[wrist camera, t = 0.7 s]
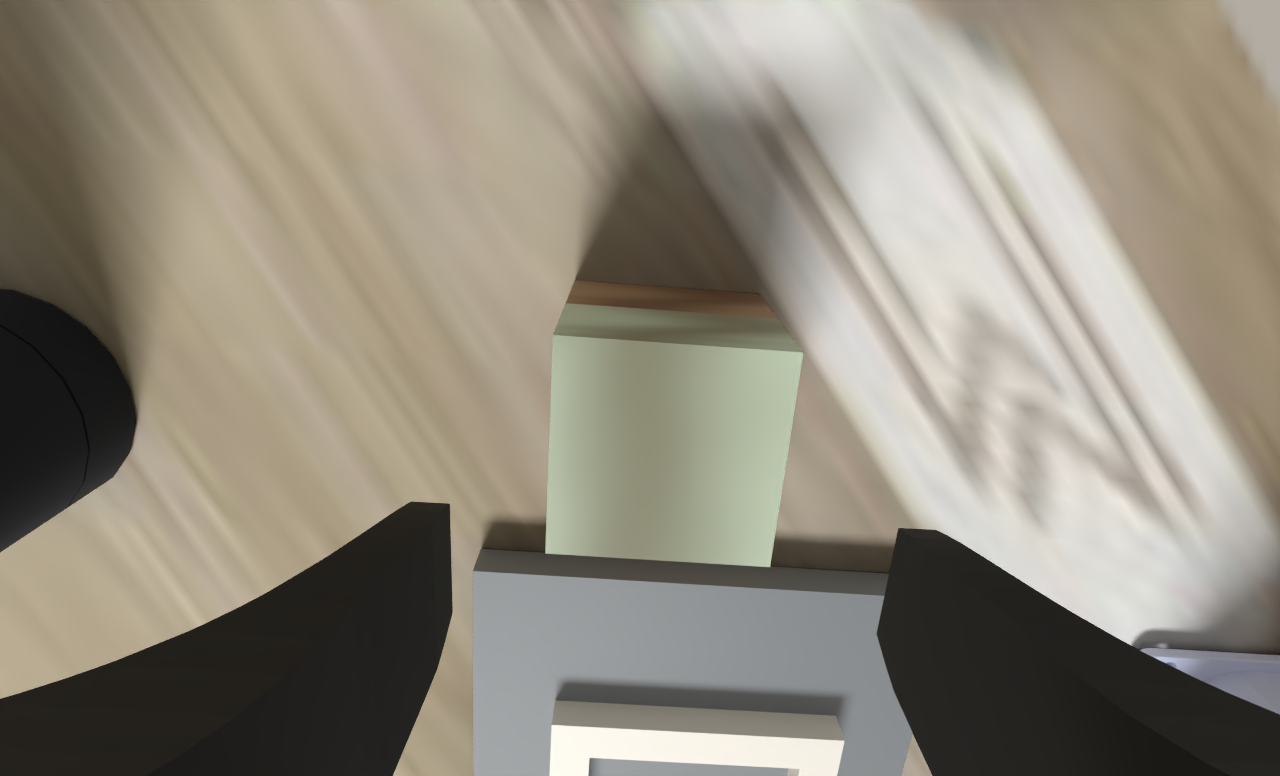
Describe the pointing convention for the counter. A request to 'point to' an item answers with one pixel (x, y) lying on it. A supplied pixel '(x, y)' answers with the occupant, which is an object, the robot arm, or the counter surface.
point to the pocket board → (679, 669)
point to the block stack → (668, 424)
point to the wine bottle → (54, 414)
